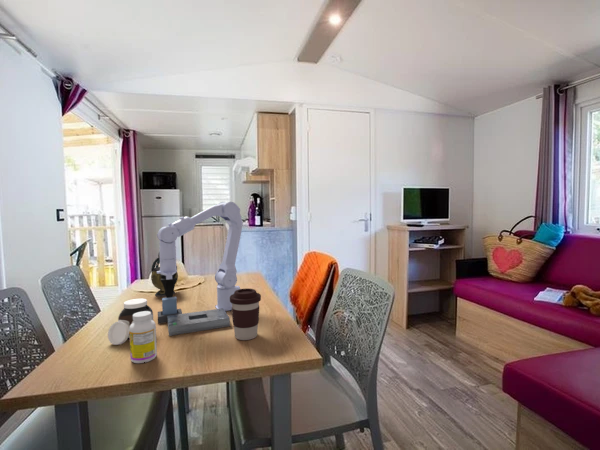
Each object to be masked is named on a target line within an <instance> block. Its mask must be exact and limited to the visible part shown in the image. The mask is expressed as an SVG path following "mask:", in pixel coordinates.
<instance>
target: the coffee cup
mask: <svg viewBox="0 0 600 450" xmlns="http://www.w3.org/2000/svg"><path fill="white" fill-rule="evenodd" d="M261 300H262V296H261V294H260V293H259V292H257V290H256V289H253V288H240V289H239V290H236V291H235V292H234V294H233V295H231V296H230V302H231V303H232V310H231V316H232V325H233V330H234V338H236V339H237V340H240V341H250V340H253V339H255V338H256V337H257V336H258V330H259V329H258V327H259V319H260V301H261Z"/></svg>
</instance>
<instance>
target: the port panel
mask: <svg viewBox="0 0 600 450" xmlns="http://www.w3.org/2000/svg"><path fill="white" fill-rule="evenodd" d="M167 320H168V322H167V331H168V336H169V337H172V336H178V335H184V333H185V334H190V333H195V332H203V331H209V330H214V329H215V330H217V329H221V328H228V327H231V322H230V321H231V319H230V316H229V315H228V314H227V311H225V310H224V309H223V308H221V309H216V308H215V309H207V310H200V311H199V310H198V311H193V312H185V313H182V314H177V315H170V316H167Z"/></svg>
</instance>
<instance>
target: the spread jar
mask: <svg viewBox="0 0 600 450" xmlns="http://www.w3.org/2000/svg"><path fill="white" fill-rule="evenodd" d="M142 311H150V312H151V320H153V321H154V312H153V309H152V308H151V307H150V306H149V305H148V299H146V298H142V297H141V298H133V299H128V300H126V301H123V309H122V310H121V311H120V313H119V315H118V318H117V321H115V322H113V323H112V324H111V325H110V327H109V328H108V331H107V339H108V341H109V343H110V344H112V345H114V346H117V345H118V346H119V345H122V344H124V343H126V341H130V335H129V327H130V325H131V324H132V323H134V321H133V314H135V313H137V312H142ZM154 322H155V321H154Z"/></svg>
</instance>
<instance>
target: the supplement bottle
mask: <svg viewBox="0 0 600 450" xmlns="http://www.w3.org/2000/svg"><path fill="white" fill-rule="evenodd" d="M153 320H154V319H153ZM153 320H151V312H150V311H142V312H137V313H135V314H133V321H134V323H132V324H131V325H130V327H129V335H130V340H129V349H130V350H129V355H130V360H131V362H132V363H134V364H145V363H148V362H151V361H153V360H154V359H156V357H157V354H158V352H157V350H158V349H157V330H156V329H157V327H156V321H153ZM144 362H145V363H144Z"/></svg>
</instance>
